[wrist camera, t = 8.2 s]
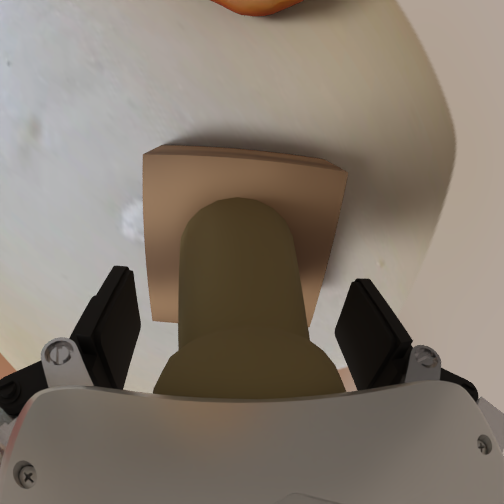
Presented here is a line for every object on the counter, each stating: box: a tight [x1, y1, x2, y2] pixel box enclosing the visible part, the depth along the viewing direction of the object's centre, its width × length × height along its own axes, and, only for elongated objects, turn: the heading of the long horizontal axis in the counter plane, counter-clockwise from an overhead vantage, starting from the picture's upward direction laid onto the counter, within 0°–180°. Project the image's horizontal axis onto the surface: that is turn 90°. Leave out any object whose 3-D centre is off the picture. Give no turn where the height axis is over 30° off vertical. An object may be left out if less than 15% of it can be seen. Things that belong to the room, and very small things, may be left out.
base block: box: [143, 145, 348, 327], centre depth 17 cm, size 10×10×4 cm
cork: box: [153, 197, 346, 399], centre depth 10 cm, size 6×6×11 cm
